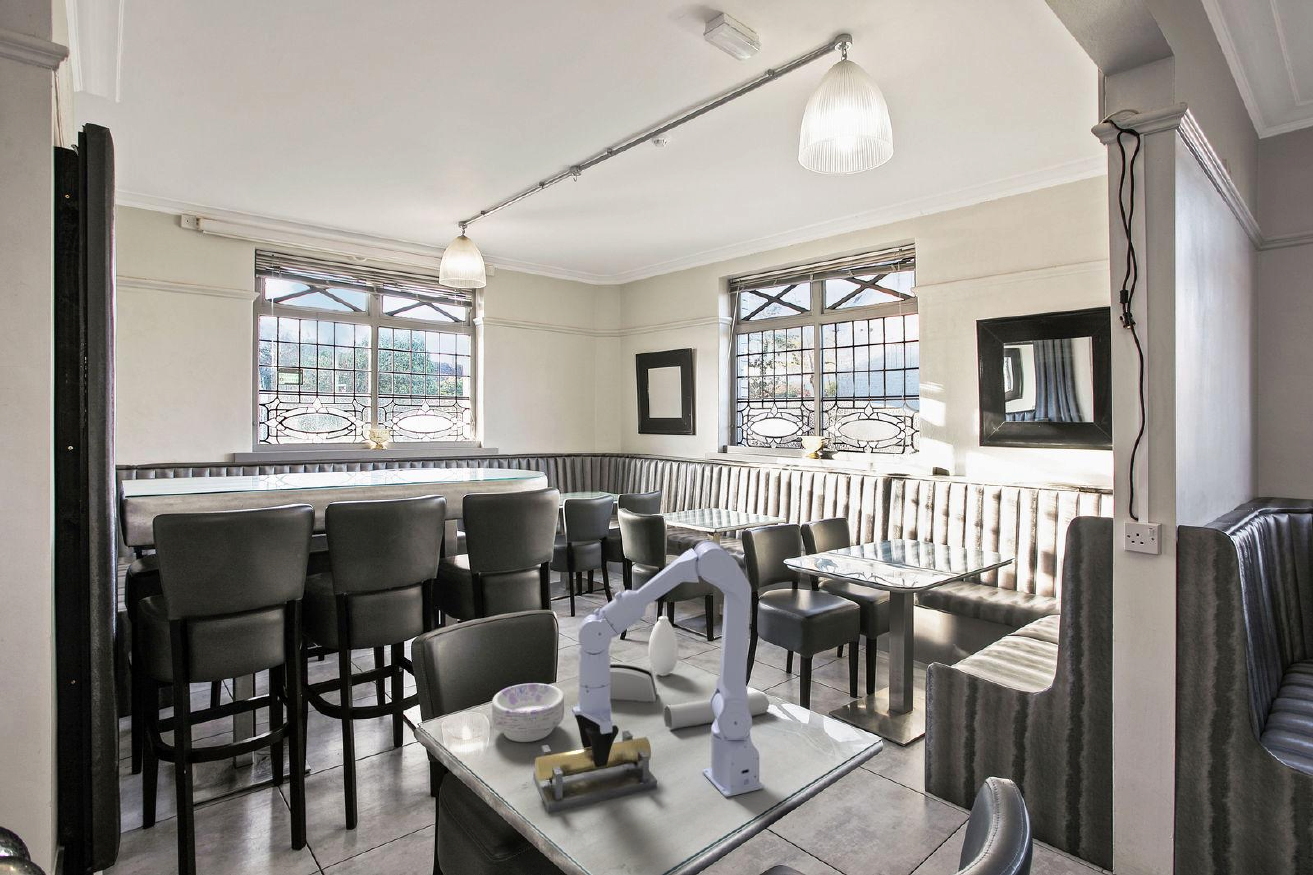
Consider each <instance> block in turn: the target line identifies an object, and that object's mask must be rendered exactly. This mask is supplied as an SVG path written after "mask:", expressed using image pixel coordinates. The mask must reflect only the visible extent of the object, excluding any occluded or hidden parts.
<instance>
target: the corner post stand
mask: <svg viewBox="0 0 1313 875" xmlns="http://www.w3.org/2000/svg"><path fill="white" fill-rule="evenodd" d="M621 736H622V737H621V738H622V739H621V742H622V741H627V740H633V734H632V733H631V732H630V731H629V730H624V731H622V734H621ZM540 747H541V750H540V751H541V755H540V757H542V756H547V755H552V751H551V749H550V746H549V745H548V744H545V745H541V746H540ZM532 771H533V772H532V774H533V775H532V778H533V781H534V784H535V786H536V788H537V790H538V792H539V794H540V797H541V799H542V801H543V803H544V806H545V809H546V811H547V812H548V813H553V812H558V811H562V810H567V809H571V808H572V809H573V808H575V807H580V806H585V805H589V804H593V803H594V804H595V803H599V802H602V801H607V800H612V799H616V798H621V797H625V796H629V795H630V796H631V795H633V794H634V795H635V794H640V793H644V792H649V791H653V790H657V789H658V780H657V779H656V777H655V776H654V774H653V773H652V772H651V771H650V760H649V755H648V754H647V753H646V752H645V750H640V751H638V762H636V763H631V764H627V765H622V766H617V767H612V768H607V769H602V770H597V771H592V772H587V773H582V774H577V775H572V776H567V777H563V773H562V771H561V769H560V767H559V766H558V767H553V768H552V780H547V781H542V782H538V781H537V778H536V772H535V769H533V770H532Z"/></svg>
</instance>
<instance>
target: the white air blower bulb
mask: <svg viewBox="0 0 1313 875" xmlns="http://www.w3.org/2000/svg"><path fill="white" fill-rule="evenodd" d="M657 619H658V621H657V622H656V623H655V624H654V626H653V628H652V630H651V633H650V637H649V641H648V660H649V664H650V666H651V668H652V671H654V672H656V674H657V675H659V676H661V677H666V676H667V675H669V674H670V673H672V671H674V669H675V668H676V665H677V662H678V659H679V658H678V656H679V645H678V644H679V643H678V639H677V635H676V632H675V630H674V626H672V623H671V622H670V620H669V617H668V616H665V608H664V607H663V608H662V615H661V616H659V617H658V618H657Z"/></svg>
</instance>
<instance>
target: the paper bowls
mask: <svg viewBox="0 0 1313 875" xmlns="http://www.w3.org/2000/svg"><path fill="white" fill-rule="evenodd" d="M564 717H565V694H564V692H563V691H562V690H561V689H560V688H558V687H557V686H555V685H552V684H547V683H538V682H533V683H531V682H529V683H522V684H520V683H519V684H516V685H512V686H507V687H506V688H504V689H502V690H500V691H499V692H497V693H496V694H495V695H494V696H493V697H492V701H491V723H492V726H493V728H494V729H495V730H497V731H499V732H502V733H503V735H504V736H505V738H506V739H508V740H510V741H513V742H517V743H531V742H536V741H540V740H542V739H545V738H546V737H547V736H548V735H550V734H551V733H552V732H553V730H554V728H555V727H557V726H559V725H560V724H561V722H563V720H564Z"/></svg>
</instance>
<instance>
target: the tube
mask: <svg viewBox="0 0 1313 875" xmlns="http://www.w3.org/2000/svg"><path fill="white" fill-rule="evenodd" d="M747 694H748V709H749V712H750V714H751V717H753V716H759V715H764V714H766V712H767V711H768V710H769V706H770V701H769V699H768V697H767V696H766V695H765V694H764V693H762V692H760V691H758V692H751V693H747ZM710 703H711V698H710V699H705V700H698V701H691V702H690V701H689V702H686V703H685V702H684V703H678V704H671V705H669V704H665V706H664V707H663V712H662V713H663V717H662V718H663V721H664V726H665V727H666V728H667V730H668V731H670V732H671V731H674V730H677V729H682V728H683V729H684V728H689V727H694V726H700V725H705V724H713V723H714V721H715V718H716V717H715V715H714V713H713V711H712V709H711V704H710Z"/></svg>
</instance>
